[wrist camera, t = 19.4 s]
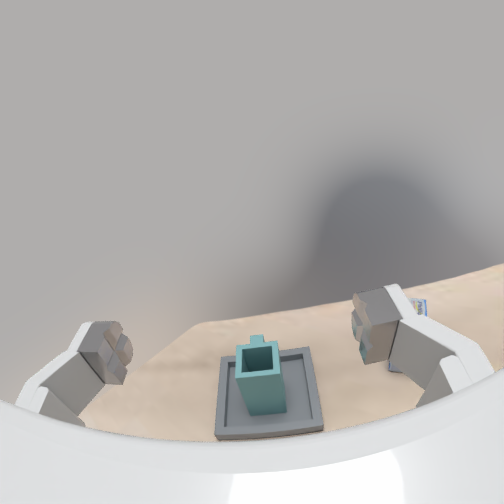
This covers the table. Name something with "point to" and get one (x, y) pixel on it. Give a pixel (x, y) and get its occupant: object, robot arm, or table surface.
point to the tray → (273, 425)
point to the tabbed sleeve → (260, 376)
